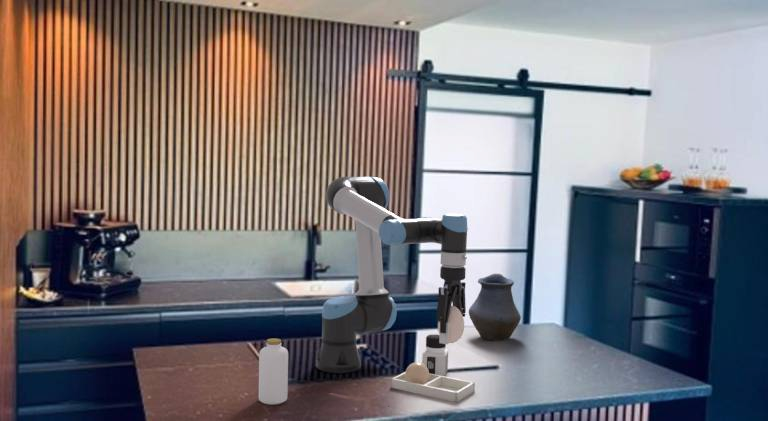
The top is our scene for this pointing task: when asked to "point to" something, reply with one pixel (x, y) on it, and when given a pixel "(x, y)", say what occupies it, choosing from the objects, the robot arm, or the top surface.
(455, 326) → the egg
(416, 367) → the beige ball
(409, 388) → the tray
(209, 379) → the top surface
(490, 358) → the top surface
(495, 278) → the dark clay urn
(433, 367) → the container
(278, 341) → the white bottle
